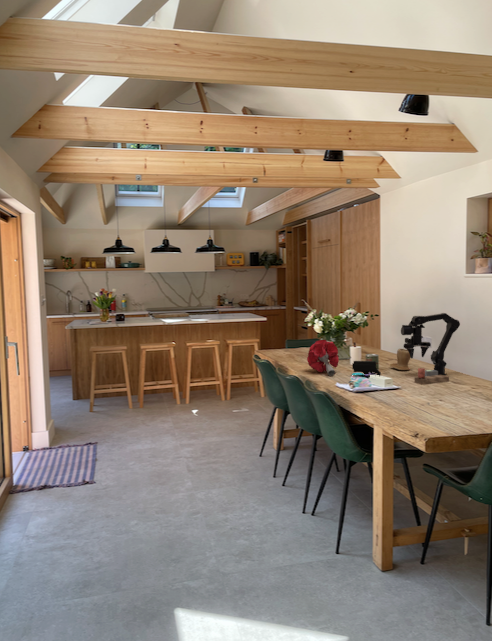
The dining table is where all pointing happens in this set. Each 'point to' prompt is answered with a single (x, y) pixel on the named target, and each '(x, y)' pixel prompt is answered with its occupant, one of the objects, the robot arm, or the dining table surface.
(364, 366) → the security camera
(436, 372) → the stud finder
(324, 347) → the bouquet
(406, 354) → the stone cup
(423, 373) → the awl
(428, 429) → the dining table surface
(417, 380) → the beam
